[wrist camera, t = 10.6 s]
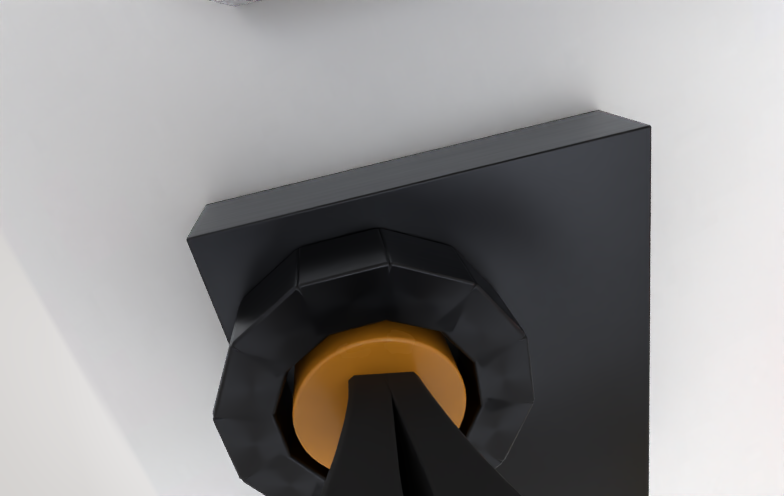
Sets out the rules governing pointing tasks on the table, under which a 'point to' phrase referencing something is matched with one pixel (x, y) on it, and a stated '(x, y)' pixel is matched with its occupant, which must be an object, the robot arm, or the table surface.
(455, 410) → the bell button
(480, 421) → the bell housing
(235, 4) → the lock plate
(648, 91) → the table surface
